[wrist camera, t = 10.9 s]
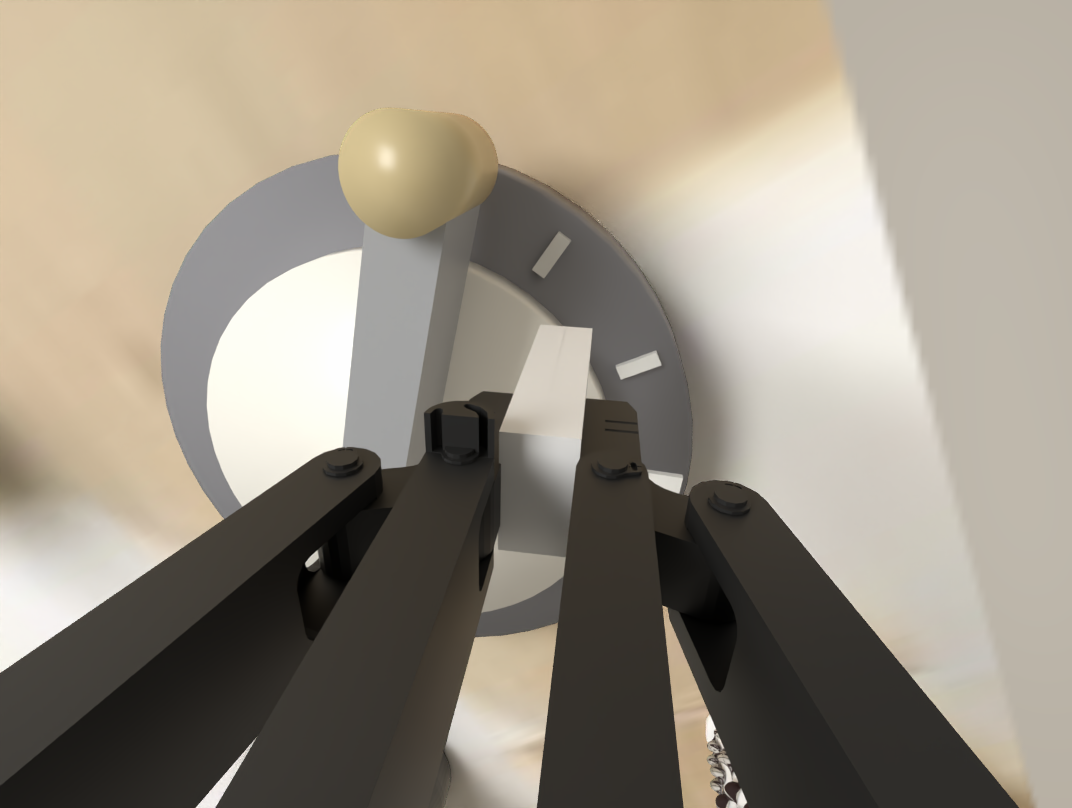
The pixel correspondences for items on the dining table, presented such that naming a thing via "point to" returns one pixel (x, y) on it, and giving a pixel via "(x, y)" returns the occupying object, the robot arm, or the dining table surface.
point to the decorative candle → (722, 772)
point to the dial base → (499, 245)
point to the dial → (382, 325)
